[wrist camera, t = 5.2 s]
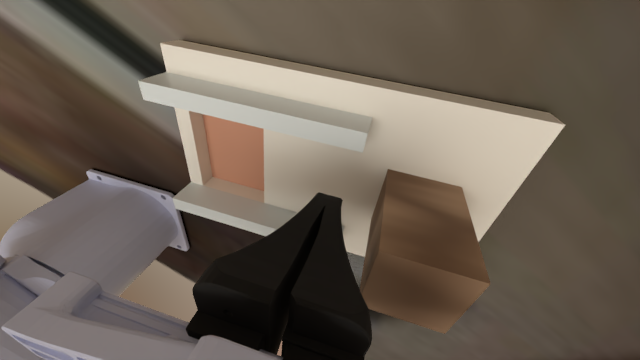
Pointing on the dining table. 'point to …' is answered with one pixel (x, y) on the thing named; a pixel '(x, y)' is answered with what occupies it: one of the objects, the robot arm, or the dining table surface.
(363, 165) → the channel
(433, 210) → the walnut block
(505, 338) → the dining table surface
